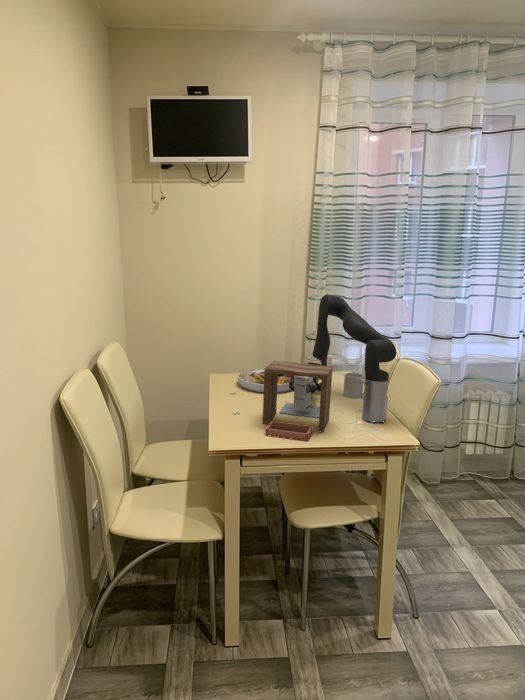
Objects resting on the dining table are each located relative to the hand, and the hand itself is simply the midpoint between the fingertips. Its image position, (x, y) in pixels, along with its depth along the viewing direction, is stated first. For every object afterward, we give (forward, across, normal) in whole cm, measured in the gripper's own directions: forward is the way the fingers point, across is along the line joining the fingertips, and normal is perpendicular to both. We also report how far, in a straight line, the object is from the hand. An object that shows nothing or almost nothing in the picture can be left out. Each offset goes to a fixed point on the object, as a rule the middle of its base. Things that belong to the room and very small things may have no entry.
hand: (302, 390), depth 213 cm
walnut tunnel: (+10, 0, +10) cm, 14 cm away
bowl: (-37, -24, +12) cm, 46 cm away
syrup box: (-2, 0, +9) cm, 9 cm away
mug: (-36, +18, +11) cm, 41 cm away
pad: (-5, 0, +11) cm, 12 cm away
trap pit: (+23, 0, +10) cm, 25 cm away
